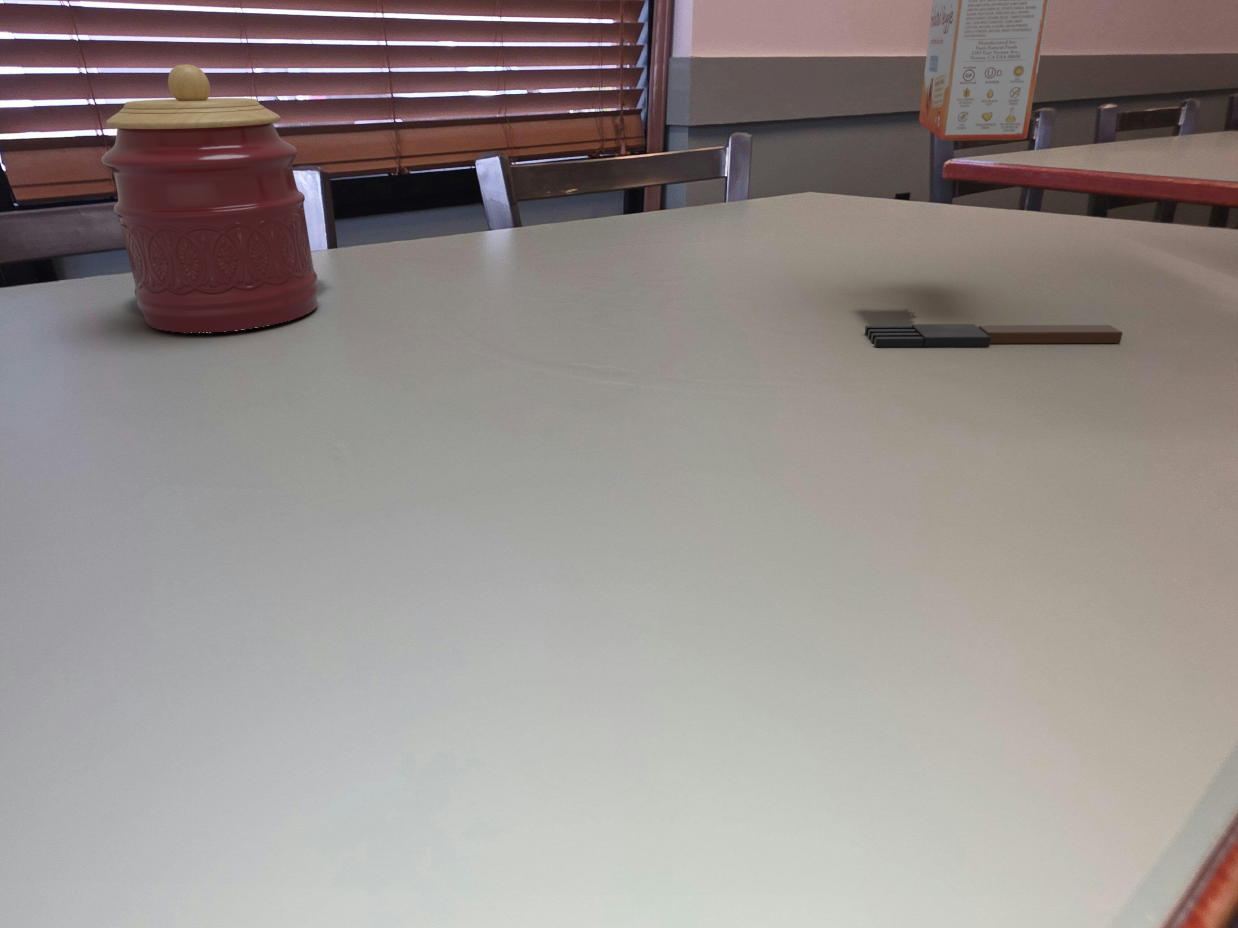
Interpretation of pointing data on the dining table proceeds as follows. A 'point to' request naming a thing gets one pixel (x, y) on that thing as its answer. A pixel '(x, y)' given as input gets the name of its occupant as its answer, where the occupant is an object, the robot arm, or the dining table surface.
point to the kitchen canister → (210, 211)
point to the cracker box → (982, 68)
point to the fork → (987, 334)
